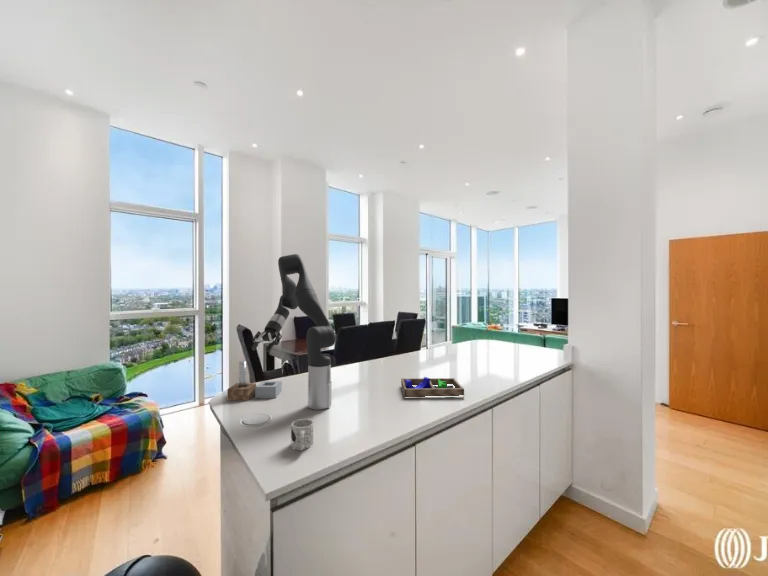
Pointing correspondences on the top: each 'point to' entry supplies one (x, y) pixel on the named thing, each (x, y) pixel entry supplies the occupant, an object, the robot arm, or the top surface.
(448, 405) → the top surface
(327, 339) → the robot arm
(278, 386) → the socket block
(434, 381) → the organiser frame
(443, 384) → the pipe clamp
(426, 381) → the cable clip
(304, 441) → the mug
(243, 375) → the steel axle
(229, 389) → the wooden square frame
